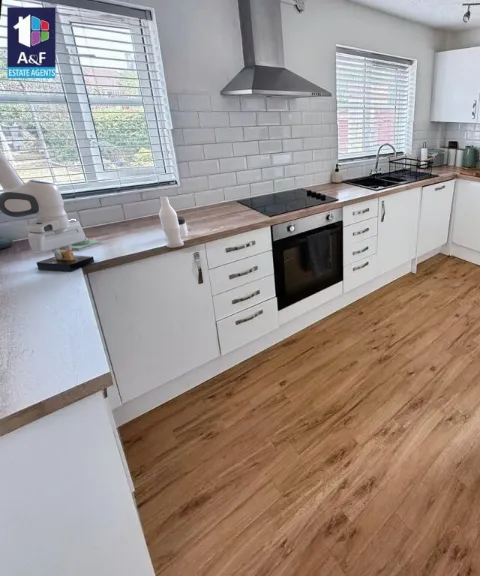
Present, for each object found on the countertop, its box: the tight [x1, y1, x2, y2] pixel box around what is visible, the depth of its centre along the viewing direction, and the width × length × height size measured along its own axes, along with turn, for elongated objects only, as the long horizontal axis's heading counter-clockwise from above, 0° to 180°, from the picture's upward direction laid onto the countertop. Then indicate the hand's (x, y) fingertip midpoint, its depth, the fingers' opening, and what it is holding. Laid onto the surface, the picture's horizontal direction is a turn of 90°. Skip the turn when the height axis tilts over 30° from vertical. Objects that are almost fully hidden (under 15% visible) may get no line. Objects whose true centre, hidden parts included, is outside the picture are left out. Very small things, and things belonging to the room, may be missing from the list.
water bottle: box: [158, 195, 185, 249], centre depth 169 cm, size 7×7×25 cm
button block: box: [59, 237, 102, 251], centre depth 172 cm, size 10×13×4 cm
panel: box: [35, 254, 95, 273], centre depth 148 cm, size 14×11×3 cm
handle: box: [53, 249, 75, 260], centre depth 147 cm, size 6×2×4 cm, turn 84°
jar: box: [177, 216, 189, 239], centre depth 185 cm, size 9×8×12 cm
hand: (64, 257), depth 147 cm, fingers closed on handle, 2 cm apart
